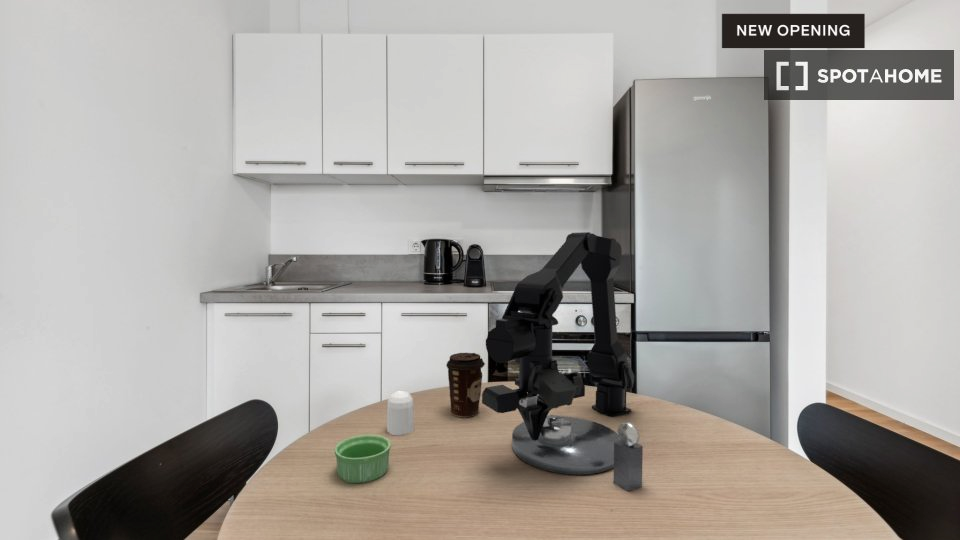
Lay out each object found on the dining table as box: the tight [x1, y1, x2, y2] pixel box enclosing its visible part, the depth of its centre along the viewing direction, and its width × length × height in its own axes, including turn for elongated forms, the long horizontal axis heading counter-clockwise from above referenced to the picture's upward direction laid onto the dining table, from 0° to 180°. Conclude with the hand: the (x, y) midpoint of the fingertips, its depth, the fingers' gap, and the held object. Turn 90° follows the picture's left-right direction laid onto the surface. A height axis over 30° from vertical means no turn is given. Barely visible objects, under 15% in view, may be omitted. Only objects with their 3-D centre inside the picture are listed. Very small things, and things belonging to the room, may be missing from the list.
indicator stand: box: [612, 421, 644, 493], centre depth 69 cm, size 3×3×10 cm
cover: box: [538, 414, 571, 447], centre depth 80 cm, size 6×6×4 cm
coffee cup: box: [445, 352, 486, 418], centre depth 99 cm, size 9×8×13 cm
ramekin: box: [334, 434, 392, 484], centre depth 73 cm, size 9×9×4 cm
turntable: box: [511, 415, 621, 476], centre depth 81 cm, size 20×20×5 cm
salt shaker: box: [386, 390, 415, 436], centre depth 89 cm, size 5×5×8 cm
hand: (534, 439), depth 78 cm, fingers closed
